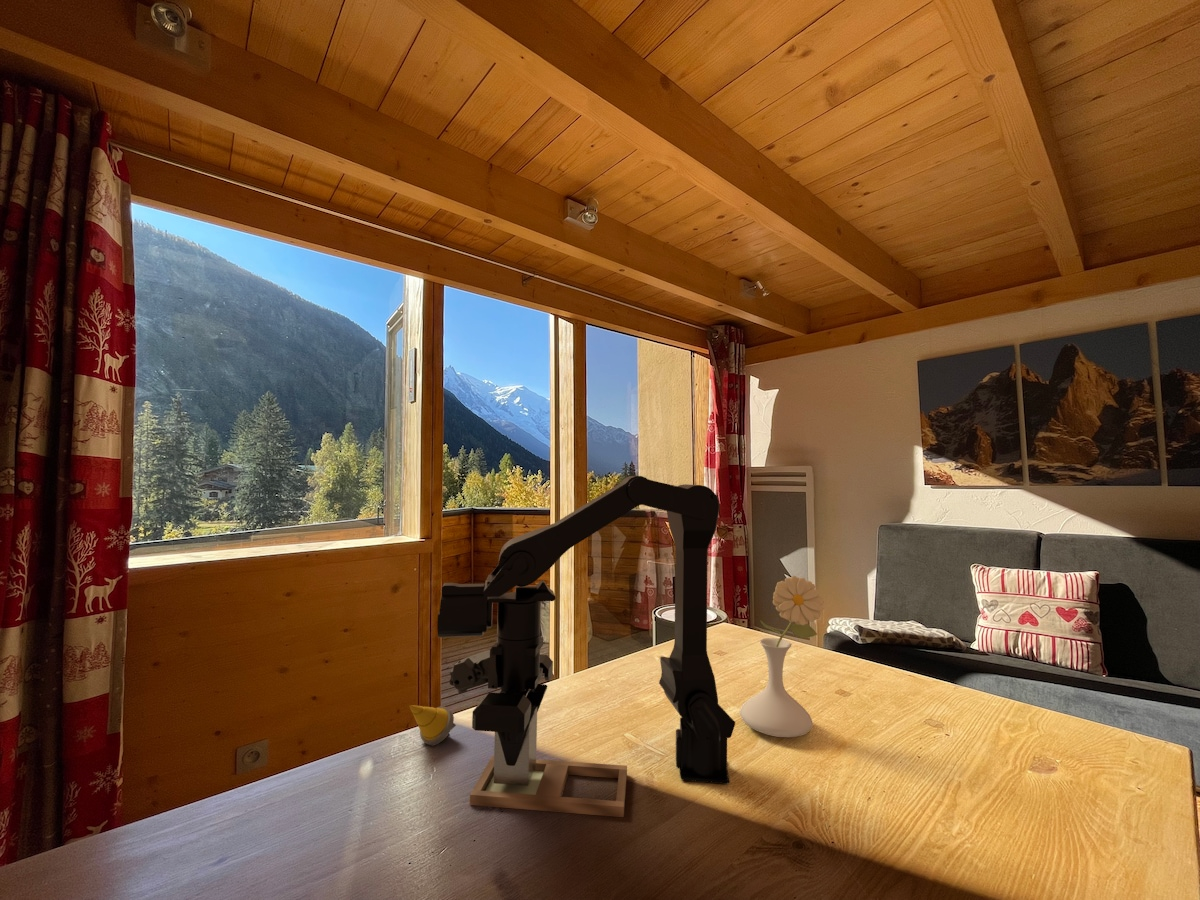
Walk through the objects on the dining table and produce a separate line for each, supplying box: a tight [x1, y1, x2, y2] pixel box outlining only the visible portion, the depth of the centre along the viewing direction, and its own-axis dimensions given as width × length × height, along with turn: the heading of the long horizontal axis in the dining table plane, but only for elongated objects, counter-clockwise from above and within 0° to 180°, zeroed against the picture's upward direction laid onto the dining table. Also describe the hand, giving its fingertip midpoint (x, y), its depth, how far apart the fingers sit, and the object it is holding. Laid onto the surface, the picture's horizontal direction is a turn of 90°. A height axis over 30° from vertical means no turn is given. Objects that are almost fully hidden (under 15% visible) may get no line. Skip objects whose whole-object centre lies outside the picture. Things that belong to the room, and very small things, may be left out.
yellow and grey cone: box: [408, 704, 457, 746], centre depth 79 cm, size 5×5×10 cm
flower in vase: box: [739, 575, 824, 738], centre depth 86 cm, size 13×11×25 cm
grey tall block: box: [493, 705, 538, 786], centre depth 69 cm, size 4×4×9 cm
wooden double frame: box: [469, 755, 628, 818], centre depth 68 cm, size 19×9×1 cm, turn 85°
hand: (515, 754), depth 68 cm, fingers closed on grey tall block, 4 cm apart
